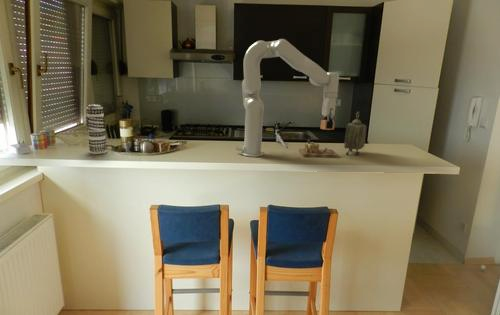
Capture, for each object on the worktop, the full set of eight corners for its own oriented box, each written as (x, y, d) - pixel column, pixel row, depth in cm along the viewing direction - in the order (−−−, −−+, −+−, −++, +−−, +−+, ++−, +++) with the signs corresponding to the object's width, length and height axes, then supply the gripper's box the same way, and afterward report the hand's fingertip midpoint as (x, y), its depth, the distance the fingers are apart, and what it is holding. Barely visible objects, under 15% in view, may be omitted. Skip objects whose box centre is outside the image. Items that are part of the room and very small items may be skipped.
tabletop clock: (348, 150, 201) (353, 109, 195) (363, 152, 197) (369, 111, 191) (343, 155, 189) (347, 111, 183) (359, 157, 185) (364, 113, 179)
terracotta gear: (322, 129, 182) (323, 121, 181) (319, 127, 189) (319, 119, 188) (335, 130, 182) (336, 122, 181) (331, 127, 189) (332, 120, 188)
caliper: (276, 142, 221) (276, 132, 219) (277, 142, 221) (278, 132, 220) (285, 148, 202) (286, 138, 200) (287, 148, 202) (287, 138, 200)
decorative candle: (89, 154, 170) (85, 105, 164) (87, 150, 178) (83, 104, 172) (108, 153, 175) (105, 105, 168) (106, 149, 182) (102, 103, 176)
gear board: (303, 156, 182) (304, 142, 180) (298, 151, 195) (299, 137, 193) (338, 157, 183) (340, 142, 181) (331, 151, 196) (333, 138, 194)
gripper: (319, 94, 189) (317, 124, 194) (327, 96, 172) (324, 129, 177) (332, 94, 190) (329, 125, 194) (341, 96, 173) (338, 130, 177)
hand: (327, 127), depth 185 cm, fingers closed on terracotta gear, 7 cm apart
